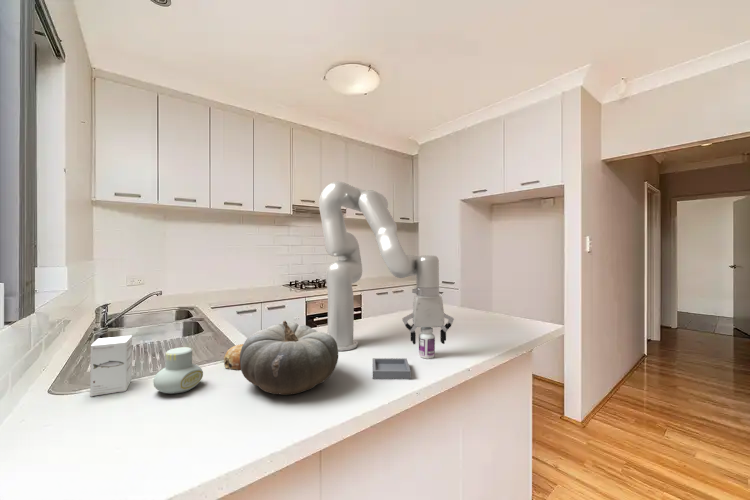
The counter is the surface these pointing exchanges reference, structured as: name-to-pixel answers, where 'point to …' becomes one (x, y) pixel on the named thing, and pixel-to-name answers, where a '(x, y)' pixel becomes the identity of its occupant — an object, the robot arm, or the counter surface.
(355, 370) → the counter surface
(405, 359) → the tray
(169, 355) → the air freshener
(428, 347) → the pill bottle
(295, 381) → the gourd
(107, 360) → the supplement box
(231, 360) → the bread roll
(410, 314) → the robot arm
